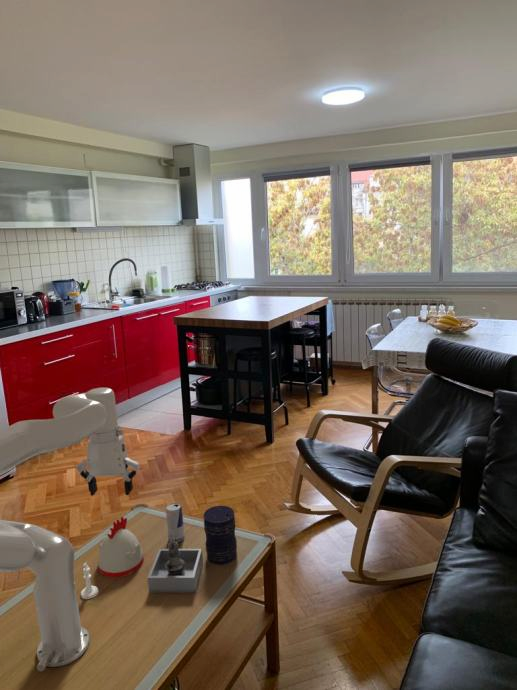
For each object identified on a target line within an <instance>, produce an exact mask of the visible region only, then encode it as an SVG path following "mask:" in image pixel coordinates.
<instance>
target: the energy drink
mask: <svg viewBox="0 0 517 690" xmlns="http://www.w3.org/2000/svg"><path fill="white" fill-rule="evenodd" d="M165 515H166V525H167V534H168V535H167V536H168V541H170V542H171V541H172V539H173V540H174V541H176V542H177V543H179V542H182V541H183V540H184V539H185V529H184V528H185V527H184V516H183V507H182V505H181V503H179V502H172V503H168V504H167V505H166V508H165Z"/></svg>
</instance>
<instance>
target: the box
mask: <svg viewBox="0 0 517 690" xmlns="http://www.w3.org/2000/svg"><path fill="white" fill-rule="evenodd" d="M178 550H179V551H180V554H179V558H180V559H183V560H184V561H185V565H184V568H183V570H184V572H185V575H184V576H167V574H168V571H167V569H166V568H165V564H166V563H167V562H168V561H169V560H170V559H169V556H168V552H169V548H159V549H158V551H157V553H156V556H155V559H153V560H154V561H153V563H152V565H151V567H150V568H151V569H150V570H149V573H148V576H147V586H148V592H149V594H152V593H153V594H155V593H156V594H157V593H158V594H160V593H161V594H162V593H163V594H165V593H166V594H171V593H173V594H174V593H175V594H179V593H181V594H182V593H185V594H187V593H189V594H191V593H192V594H195V593H196V591H197V588H198V583H199V580H200V577H201V572H202V568H203V564H204V559H203V557H204V556H203V549H202V548H178Z"/></svg>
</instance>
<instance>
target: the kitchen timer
mask: <svg viewBox="0 0 517 690" xmlns="http://www.w3.org/2000/svg"><path fill="white" fill-rule="evenodd" d="M127 523H128V518H127V517H122V516H120V520H119V519H116V521H113V522H112V527H110V528H109V530H110V531H109V532H108V533H107V534H106V536H105V537H104V539H103V540H102V543H99V554H98V560H97V563H98V565H97V566H98V570H99V572H100V574H102V575H103V576H105V577H108V578H120V577H121V578H122V577H125V576H128V575H130V574H132V573H135V572H136V571H137V570H139V569H140V568H141V567H142V565H143V563H144V560H145V559H144V551H143V548H142V546H141V544H140V542H139V540H138V539H137V537H136V536H135V534H134V533H133V532H131V531H130V530H128V529H126V528H127Z"/></svg>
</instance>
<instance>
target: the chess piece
mask: <svg viewBox="0 0 517 690" xmlns="http://www.w3.org/2000/svg"><path fill="white" fill-rule="evenodd" d="M87 564H88V563H87V562H84V564H83V565H82V566H83V567H84V568H83V569H82V572H83V574H84V575H83V580H85V587H84V588H83V589H82V590H81V592H80V597H81V599H83V600H89V599H93V598H95V597H96V596H97V595H98V594H99V589H98V587H97V586H95V585H92V582H91V577H92V574H91V573H90V571H91V567H90V566H89V565H87Z"/></svg>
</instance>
